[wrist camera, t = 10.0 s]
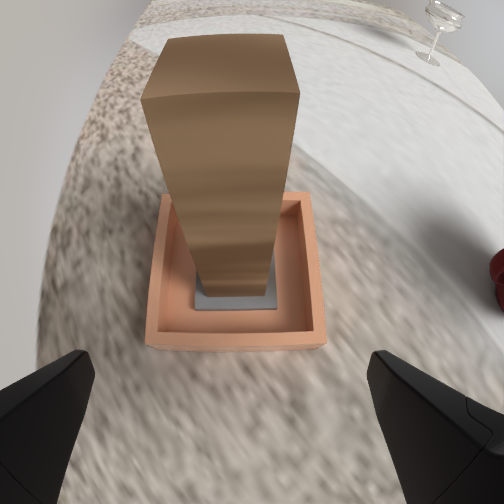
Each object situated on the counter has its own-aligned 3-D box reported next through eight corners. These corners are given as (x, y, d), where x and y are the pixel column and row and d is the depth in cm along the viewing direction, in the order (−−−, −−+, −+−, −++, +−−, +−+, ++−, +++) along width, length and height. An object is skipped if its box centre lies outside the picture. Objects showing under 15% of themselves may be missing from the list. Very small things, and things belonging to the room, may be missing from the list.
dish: (316, 349, 18) (327, 342, 16) (157, 349, 18) (144, 343, 15) (303, 212, 22) (309, 192, 20) (169, 213, 22) (162, 193, 20)
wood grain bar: (276, 309, 19) (341, 115, 6) (196, 311, 18) (100, 124, 5) (272, 238, 21) (303, 28, 8) (199, 239, 21) (150, 33, 8)
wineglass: (410, 56, 38) (429, 0, 27) (411, 45, 40) (427, -4, 29) (445, 73, 36) (467, 20, 26) (443, 61, 39) (462, 13, 28)
